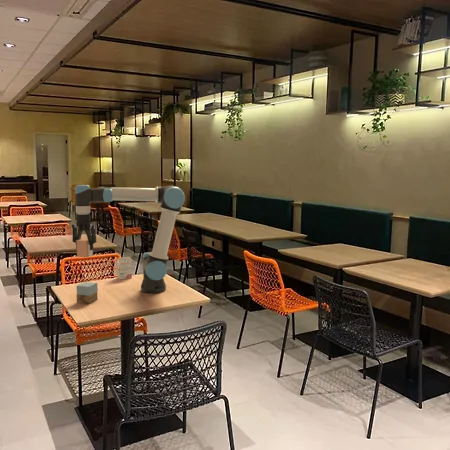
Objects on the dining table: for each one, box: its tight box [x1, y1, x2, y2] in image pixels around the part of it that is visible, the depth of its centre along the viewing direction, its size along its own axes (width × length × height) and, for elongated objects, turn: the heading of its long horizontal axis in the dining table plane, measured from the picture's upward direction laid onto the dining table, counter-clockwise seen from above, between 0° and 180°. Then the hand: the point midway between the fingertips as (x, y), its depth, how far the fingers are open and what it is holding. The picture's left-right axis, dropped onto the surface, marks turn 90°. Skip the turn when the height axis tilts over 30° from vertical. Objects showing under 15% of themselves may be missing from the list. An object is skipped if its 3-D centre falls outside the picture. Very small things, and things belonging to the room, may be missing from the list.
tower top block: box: [76, 281, 99, 296], centre depth 249 cm, size 8×8×5 cm
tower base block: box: [76, 292, 98, 305], centre depth 249 cm, size 8×8×5 cm
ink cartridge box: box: [116, 256, 133, 280], centre depth 298 cm, size 9×5×15 cm, turn 118°
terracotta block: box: [75, 238, 94, 258], centre depth 245 cm, size 6×6×9 cm
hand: (85, 255), depth 246 cm, fingers closed on terracotta block, 6 cm apart
